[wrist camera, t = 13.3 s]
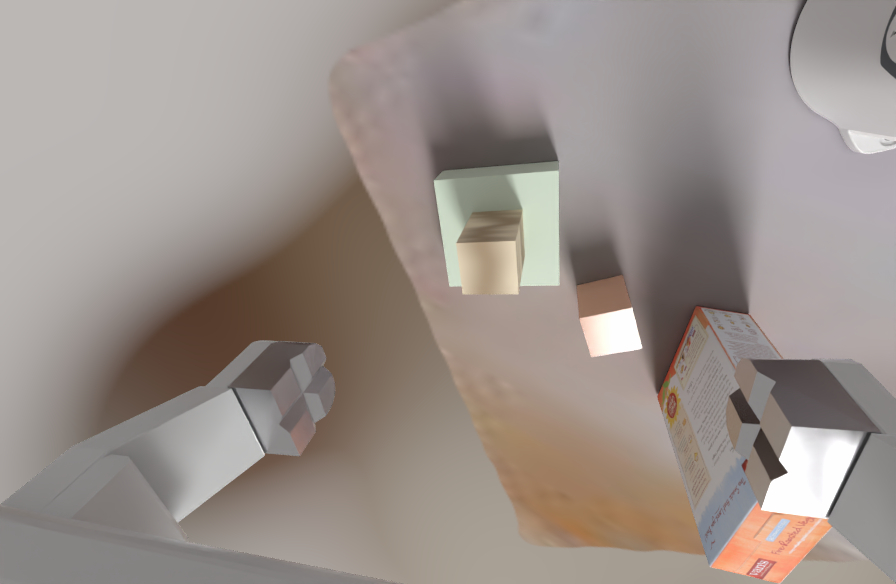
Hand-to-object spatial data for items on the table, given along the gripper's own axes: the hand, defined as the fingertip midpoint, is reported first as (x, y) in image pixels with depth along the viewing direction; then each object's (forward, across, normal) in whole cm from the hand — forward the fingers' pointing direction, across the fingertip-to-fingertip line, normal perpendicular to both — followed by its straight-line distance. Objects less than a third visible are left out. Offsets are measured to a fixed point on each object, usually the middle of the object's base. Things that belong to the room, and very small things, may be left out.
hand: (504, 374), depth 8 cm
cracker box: (+37, -17, +28) cm, 50 cm away
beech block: (+33, +5, +10) cm, 35 cm away
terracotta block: (+37, -6, +20) cm, 43 cm away
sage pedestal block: (+37, +5, +10) cm, 39 cm away
